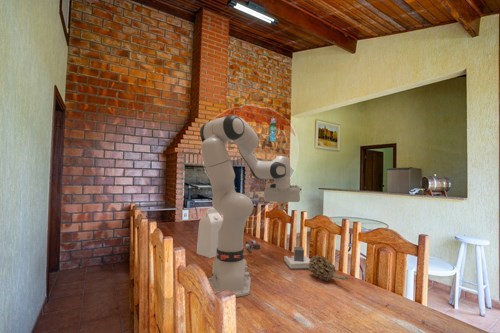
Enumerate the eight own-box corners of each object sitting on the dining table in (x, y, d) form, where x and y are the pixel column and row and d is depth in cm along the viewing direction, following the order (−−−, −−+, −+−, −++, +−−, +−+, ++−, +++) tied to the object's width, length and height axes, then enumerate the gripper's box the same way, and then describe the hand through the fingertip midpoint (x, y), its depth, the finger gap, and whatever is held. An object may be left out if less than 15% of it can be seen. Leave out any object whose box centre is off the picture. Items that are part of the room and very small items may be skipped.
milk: (211, 249, 166) (213, 206, 166) (225, 253, 158) (226, 208, 159) (196, 253, 156) (197, 208, 157) (210, 258, 149) (211, 210, 149)
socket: (314, 269, 136) (314, 262, 136) (290, 269, 134) (290, 262, 134) (305, 261, 148) (305, 254, 148) (284, 261, 146) (284, 255, 146)
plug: (303, 265, 138) (303, 250, 138) (294, 264, 139) (294, 249, 139) (302, 261, 144) (302, 247, 144) (293, 261, 144) (294, 246, 144)
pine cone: (302, 275, 127) (303, 254, 127) (316, 271, 133) (316, 251, 133) (343, 293, 110) (344, 268, 110) (357, 288, 115) (357, 264, 115)
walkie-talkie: (242, 244, 179) (249, 254, 160) (242, 237, 179) (249, 246, 160) (255, 244, 181) (263, 253, 161) (255, 237, 181) (263, 245, 162)
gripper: (298, 184, 156) (297, 209, 156) (263, 184, 153) (262, 208, 153) (301, 185, 150) (301, 210, 150) (265, 185, 147) (264, 210, 147)
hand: (281, 209), depth 151 cm, fingers closed
